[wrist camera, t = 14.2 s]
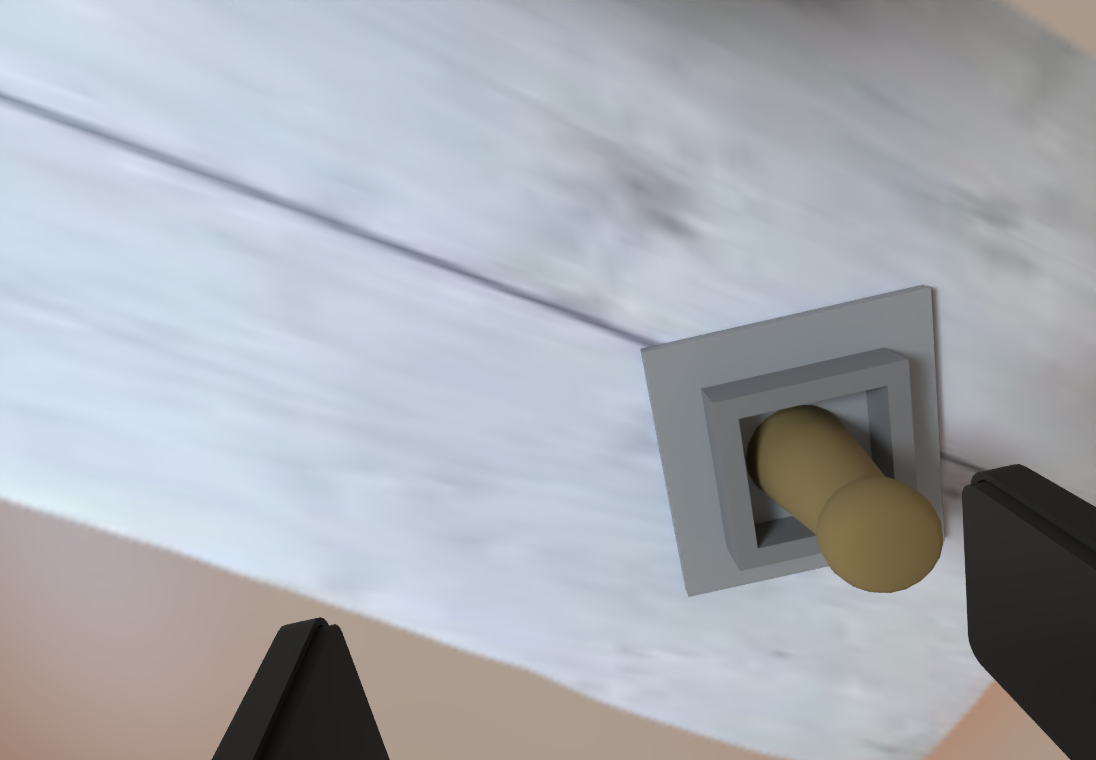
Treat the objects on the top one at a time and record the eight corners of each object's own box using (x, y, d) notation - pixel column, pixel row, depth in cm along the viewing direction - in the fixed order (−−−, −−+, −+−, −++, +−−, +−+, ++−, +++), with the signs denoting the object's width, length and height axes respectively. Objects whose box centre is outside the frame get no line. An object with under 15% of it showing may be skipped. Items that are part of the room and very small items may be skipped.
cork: (764, 515, 41) (851, 635, 30) (731, 429, 39) (811, 525, 28) (861, 476, 40) (983, 583, 30) (831, 387, 38) (950, 468, 28)
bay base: (640, 348, 38) (651, 364, 35) (922, 285, 38) (959, 295, 35) (685, 589, 43) (699, 622, 40) (936, 534, 42) (970, 563, 39)
